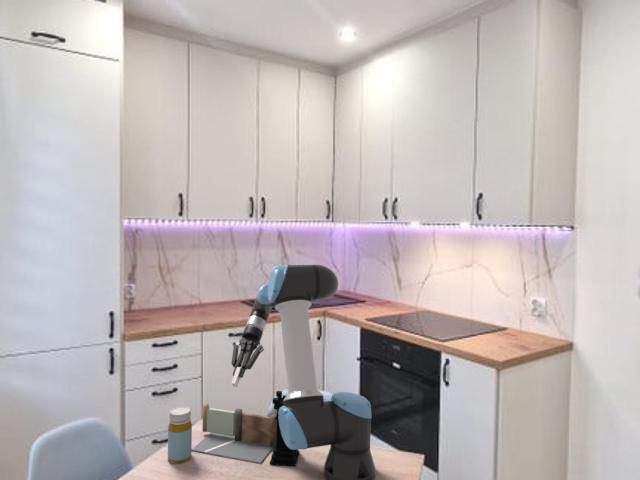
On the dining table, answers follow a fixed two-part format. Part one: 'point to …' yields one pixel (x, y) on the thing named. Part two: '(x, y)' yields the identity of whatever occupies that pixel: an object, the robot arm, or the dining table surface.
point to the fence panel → (218, 421)
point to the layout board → (232, 448)
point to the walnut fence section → (255, 428)
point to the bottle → (179, 435)
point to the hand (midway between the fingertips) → (234, 384)
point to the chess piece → (282, 441)
